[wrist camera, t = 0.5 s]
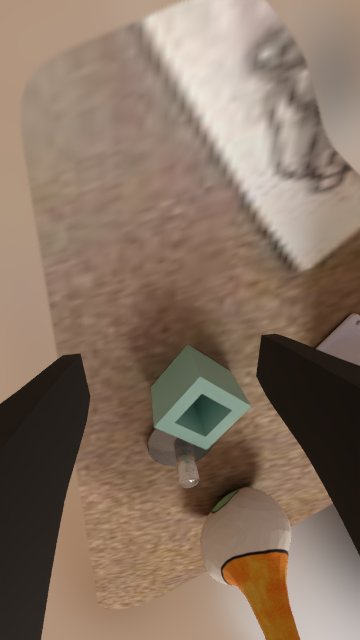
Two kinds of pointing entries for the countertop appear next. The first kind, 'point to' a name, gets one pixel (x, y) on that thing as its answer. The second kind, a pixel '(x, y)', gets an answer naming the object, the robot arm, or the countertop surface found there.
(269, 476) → the countertop surface
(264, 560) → the decorative sculpture
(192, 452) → the post
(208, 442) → the collar
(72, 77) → the countertop surface
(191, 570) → the countertop surface
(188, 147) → the countertop surface
